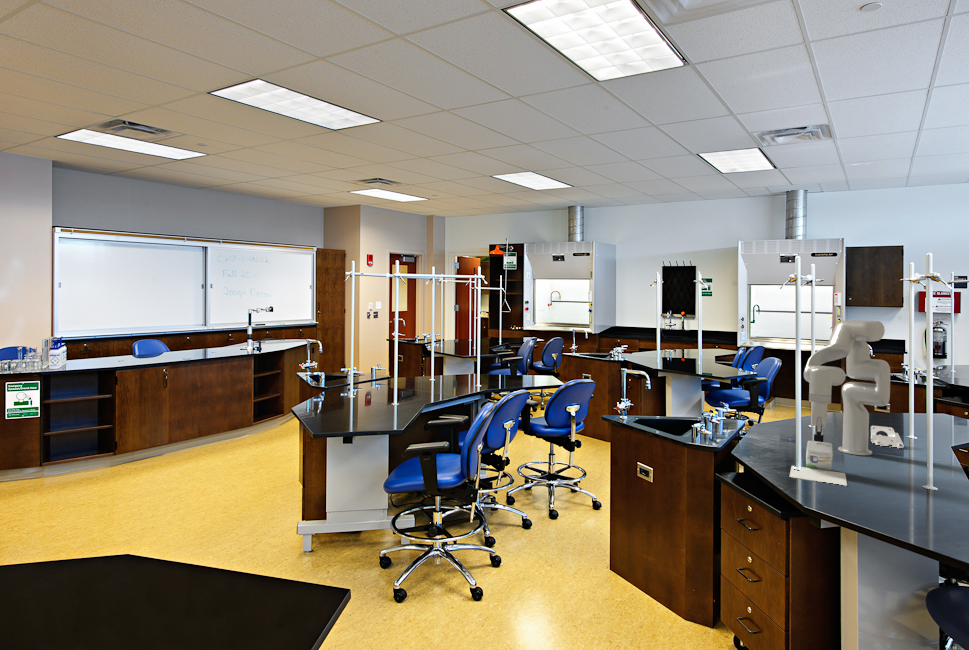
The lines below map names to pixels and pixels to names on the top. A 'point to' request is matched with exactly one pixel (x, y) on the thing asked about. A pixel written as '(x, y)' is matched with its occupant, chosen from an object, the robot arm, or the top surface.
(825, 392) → the robot arm
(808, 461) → the ink box
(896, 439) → the mounting bracket
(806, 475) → the bench mat
